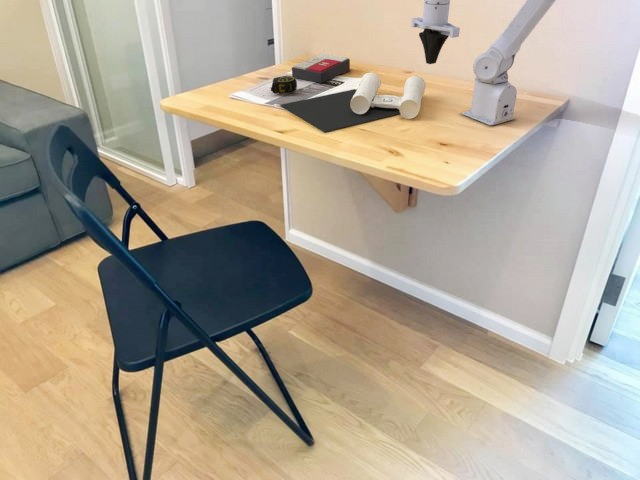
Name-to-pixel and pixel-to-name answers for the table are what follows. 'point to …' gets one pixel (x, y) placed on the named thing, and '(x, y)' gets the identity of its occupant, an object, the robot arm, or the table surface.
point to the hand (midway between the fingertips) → (431, 63)
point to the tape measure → (284, 84)
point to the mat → (335, 111)
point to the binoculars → (388, 96)
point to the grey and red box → (321, 68)
